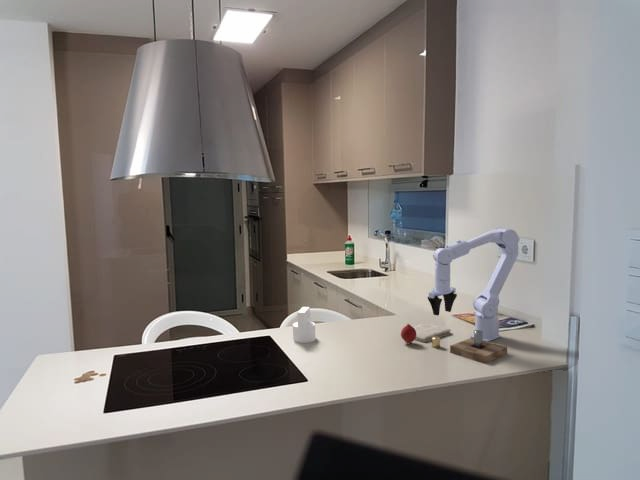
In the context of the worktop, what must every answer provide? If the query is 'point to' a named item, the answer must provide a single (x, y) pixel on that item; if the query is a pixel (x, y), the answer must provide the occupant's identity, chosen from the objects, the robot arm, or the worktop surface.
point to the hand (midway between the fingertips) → (442, 313)
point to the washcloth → (429, 332)
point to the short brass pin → (436, 342)
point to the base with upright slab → (304, 327)
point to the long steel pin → (478, 339)
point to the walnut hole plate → (478, 350)
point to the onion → (408, 334)
